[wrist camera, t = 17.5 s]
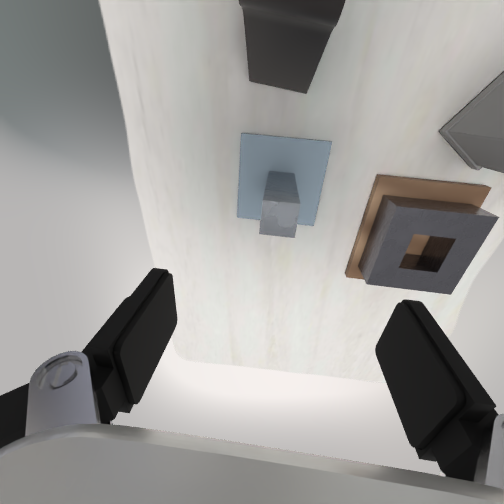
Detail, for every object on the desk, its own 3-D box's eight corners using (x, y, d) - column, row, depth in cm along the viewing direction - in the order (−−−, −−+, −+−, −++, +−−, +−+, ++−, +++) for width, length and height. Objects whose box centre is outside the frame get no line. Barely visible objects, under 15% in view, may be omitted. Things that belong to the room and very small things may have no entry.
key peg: (268, 170, 29) (262, 199, 20) (294, 173, 29) (300, 203, 19) (266, 195, 31) (259, 233, 21) (290, 198, 30) (294, 237, 21)
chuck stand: (377, 174, 29) (380, 176, 28) (484, 185, 28) (491, 187, 27) (345, 273, 36) (346, 277, 35) (430, 283, 35) (434, 287, 34)
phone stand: (306, 94, 26) (322, 83, 15) (249, 81, 25) (227, 61, 15) (338, -29, 21) (393, -166, 11) (269, -46, 21) (257, -199, 11)
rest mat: (242, 132, 28) (241, 133, 27) (331, 141, 27) (332, 142, 27) (237, 215, 33) (237, 217, 32) (313, 224, 32) (313, 225, 32)
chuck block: (383, 194, 29) (397, 206, 25) (472, 204, 28) (498, 217, 25) (357, 266, 34) (366, 284, 30) (433, 275, 33) (450, 294, 30)
